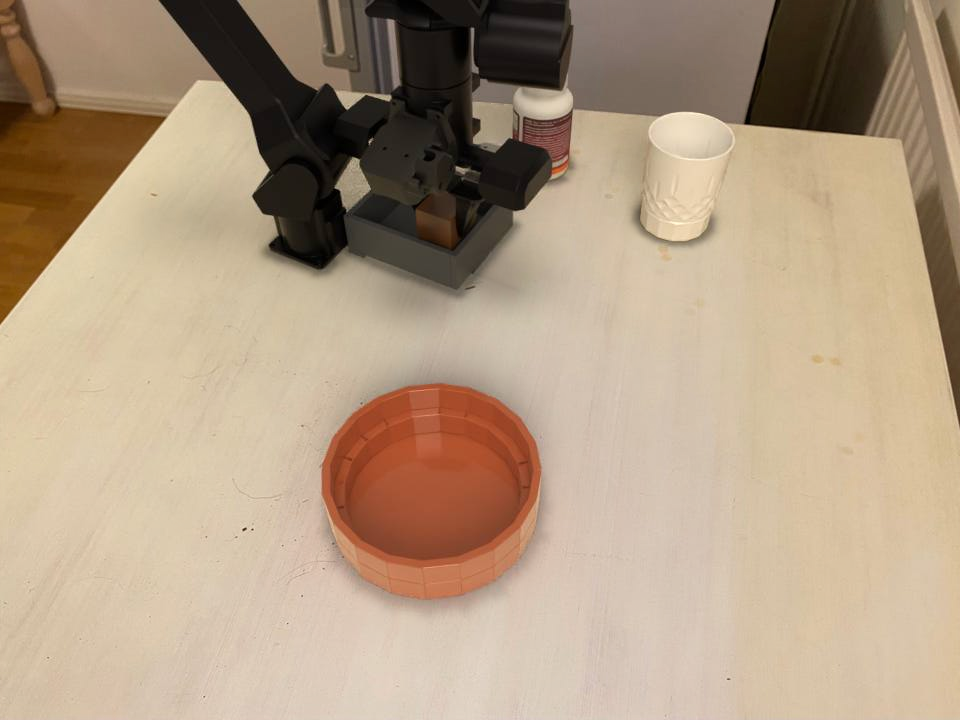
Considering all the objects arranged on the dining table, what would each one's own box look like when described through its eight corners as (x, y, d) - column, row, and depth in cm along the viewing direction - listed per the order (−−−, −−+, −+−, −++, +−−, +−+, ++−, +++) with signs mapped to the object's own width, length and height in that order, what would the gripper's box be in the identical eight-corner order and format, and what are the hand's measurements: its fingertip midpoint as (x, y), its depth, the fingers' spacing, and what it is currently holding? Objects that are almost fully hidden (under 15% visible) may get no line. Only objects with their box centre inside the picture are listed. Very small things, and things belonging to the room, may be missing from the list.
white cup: (712, 250, 79) (735, 164, 71) (630, 240, 80) (645, 154, 73) (713, 201, 84) (735, 116, 77) (636, 192, 85) (651, 107, 78)
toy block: (417, 240, 75) (415, 208, 72) (437, 218, 77) (435, 187, 74) (451, 252, 74) (449, 221, 71) (470, 230, 76) (470, 198, 73)
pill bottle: (580, 166, 88) (589, 72, 80) (541, 190, 86) (547, 95, 77) (538, 143, 91) (543, 50, 83) (499, 166, 88) (500, 72, 80)
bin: (349, 252, 79) (342, 215, 76) (410, 190, 86) (407, 154, 82) (457, 293, 75) (455, 256, 72) (512, 225, 82) (513, 189, 78)
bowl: (289, 541, 58) (276, 504, 55) (403, 397, 67) (398, 356, 63) (474, 641, 53) (473, 608, 50) (571, 471, 62) (576, 432, 58)
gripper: (275, 89, 62) (309, 247, 73) (491, 157, 55) (491, 317, 67) (359, 27, 68) (378, 181, 80) (561, 82, 62) (549, 240, 74)
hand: (443, 228), depth 75 cm, fingers closed on toy block, 3 cm apart
